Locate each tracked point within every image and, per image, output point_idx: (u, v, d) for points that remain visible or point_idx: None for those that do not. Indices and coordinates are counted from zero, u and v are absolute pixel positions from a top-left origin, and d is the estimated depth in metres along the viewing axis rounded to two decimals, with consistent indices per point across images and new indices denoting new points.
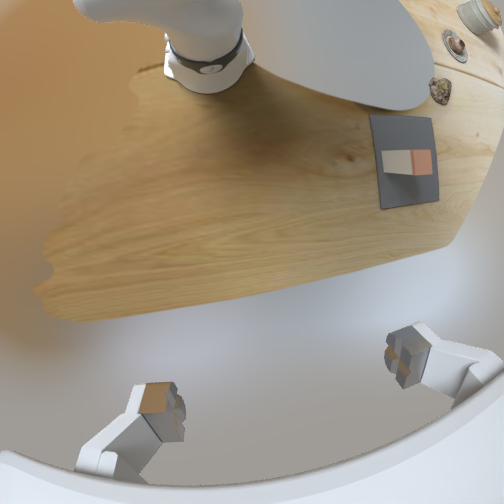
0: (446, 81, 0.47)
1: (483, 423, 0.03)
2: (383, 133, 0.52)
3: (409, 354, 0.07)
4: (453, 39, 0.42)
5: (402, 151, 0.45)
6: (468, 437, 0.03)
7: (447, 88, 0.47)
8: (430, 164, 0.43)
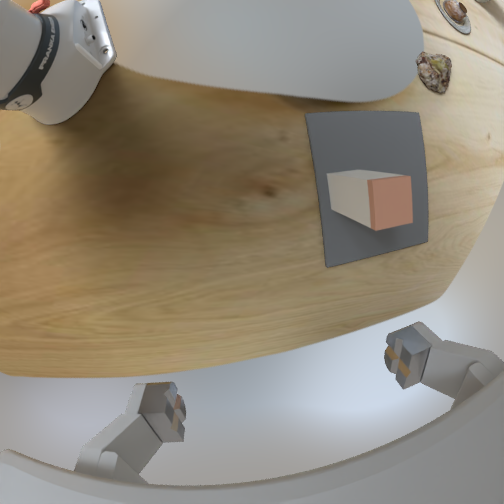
0: (443, 58, 0.28)
1: (483, 423, 0.03)
2: (331, 143, 0.33)
3: (409, 354, 0.07)
4: (449, 2, 0.23)
5: (355, 180, 0.27)
6: (468, 437, 0.03)
7: (445, 68, 0.28)
8: (409, 205, 0.25)
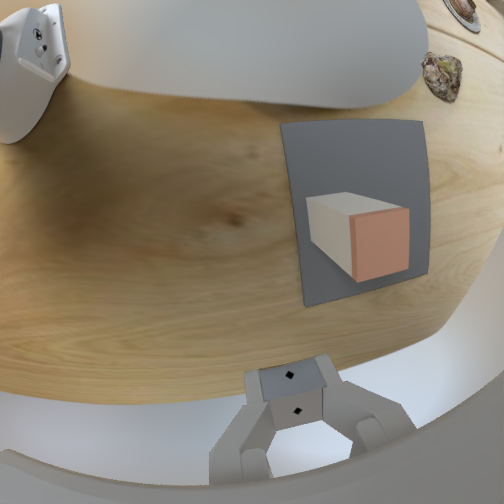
0: (453, 60, 0.23)
1: (483, 423, 0.03)
2: (312, 160, 0.28)
3: (295, 392, 0.07)
4: None
5: (335, 213, 0.21)
6: (468, 437, 0.03)
7: (455, 72, 0.23)
8: (405, 247, 0.19)
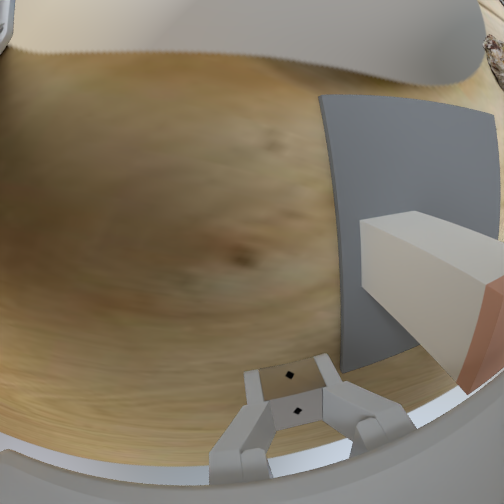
0: None
1: (483, 423, 0.03)
2: (371, 158, 0.16)
3: (295, 392, 0.07)
4: None
5: (442, 267, 0.09)
6: (468, 437, 0.03)
7: None
8: None
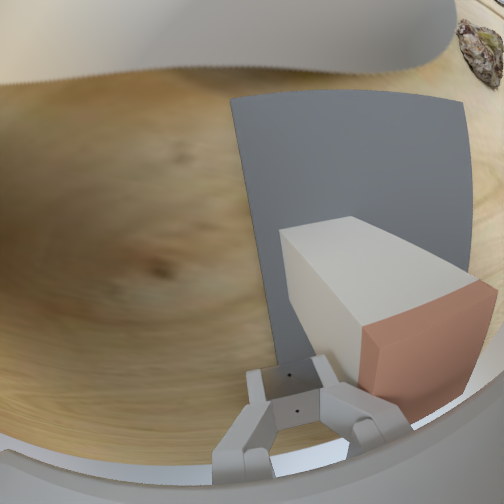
0: (494, 34, 0.11)
1: (483, 423, 0.03)
2: (290, 161, 0.16)
3: (291, 393, 0.07)
4: None
5: (328, 293, 0.09)
6: (468, 437, 0.03)
7: (499, 48, 0.11)
8: (470, 365, 0.07)
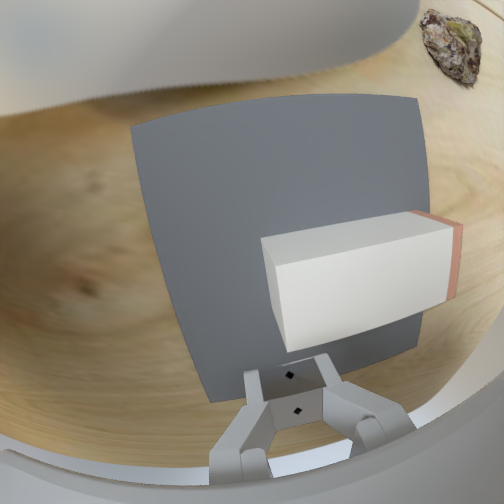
0: (468, 24, 0.11)
1: (483, 423, 0.03)
2: (187, 185, 0.15)
3: (295, 392, 0.07)
4: None
5: (423, 239, 0.13)
6: (468, 437, 0.03)
7: (474, 40, 0.11)
8: None
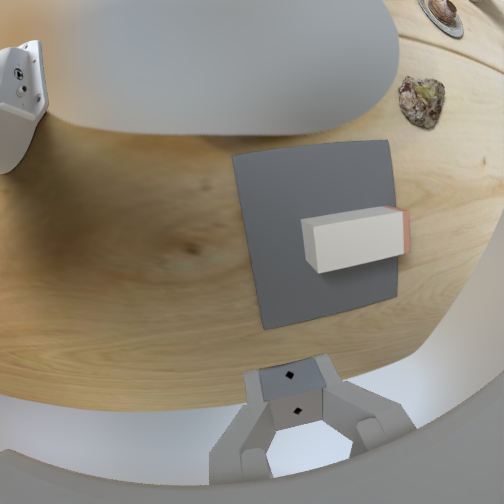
0: (434, 83, 0.26)
1: (483, 423, 0.03)
2: (264, 190, 0.30)
3: (295, 392, 0.07)
4: (435, 0, 0.21)
5: (384, 217, 0.27)
6: (468, 437, 0.03)
7: (435, 97, 0.26)
8: None
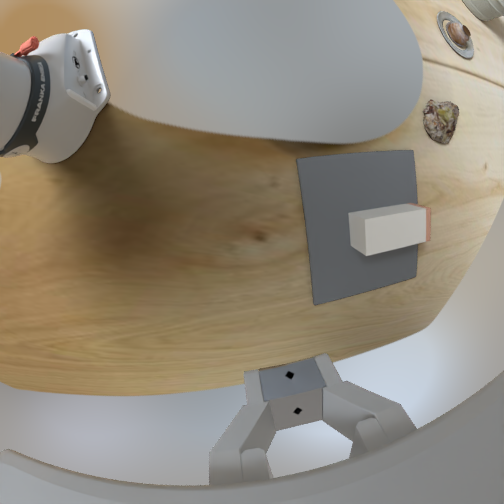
0: (451, 106, 0.32)
1: (483, 423, 0.03)
2: (321, 188, 0.36)
3: (295, 392, 0.07)
4: (453, 24, 0.26)
5: (413, 213, 0.33)
6: (468, 437, 0.03)
7: (452, 118, 0.32)
8: None
